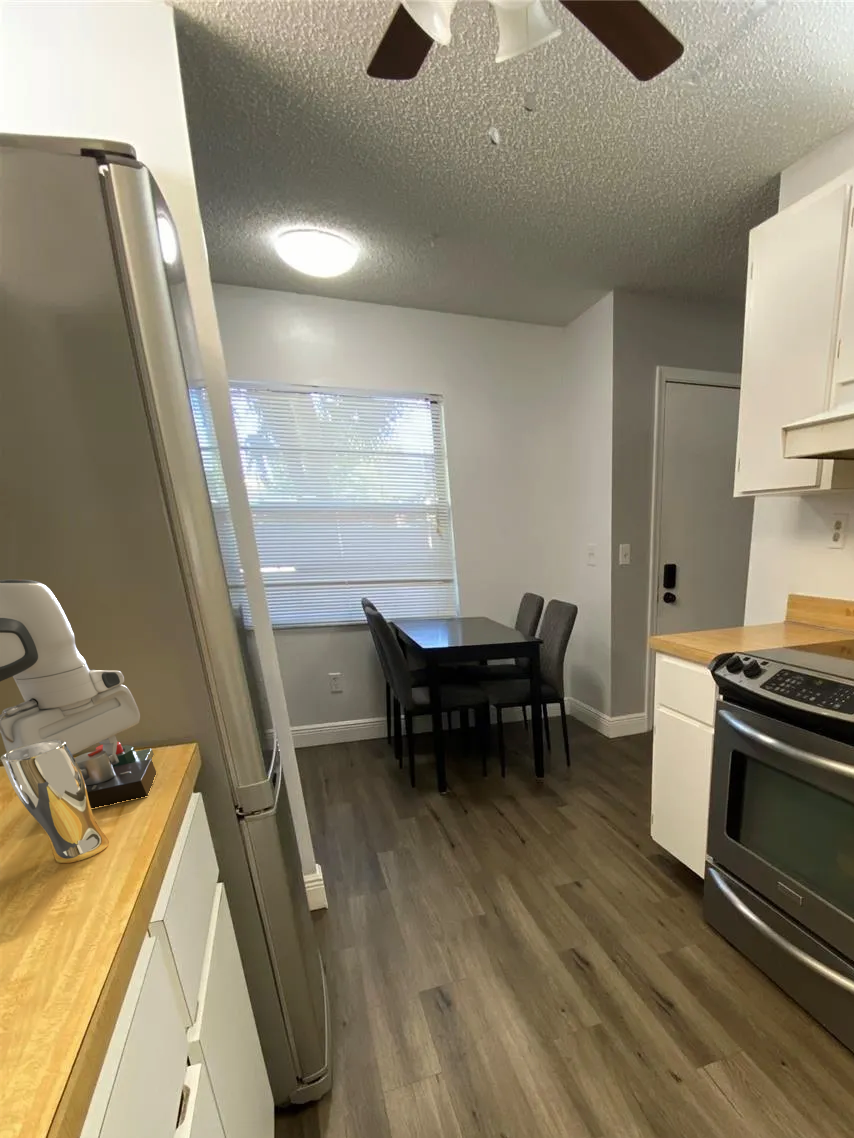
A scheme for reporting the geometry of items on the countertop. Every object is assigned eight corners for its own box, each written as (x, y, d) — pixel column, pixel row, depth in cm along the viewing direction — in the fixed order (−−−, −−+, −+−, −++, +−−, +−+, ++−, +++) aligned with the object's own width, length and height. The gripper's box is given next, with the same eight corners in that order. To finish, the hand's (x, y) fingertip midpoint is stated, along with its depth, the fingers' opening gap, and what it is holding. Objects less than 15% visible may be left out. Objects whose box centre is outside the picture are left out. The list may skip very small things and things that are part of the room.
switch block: (80, 789, 106) (70, 768, 104) (92, 772, 112) (82, 752, 111) (148, 774, 109) (139, 753, 107) (155, 759, 116) (147, 738, 114)
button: (97, 760, 107) (92, 751, 106) (102, 753, 110) (97, 744, 109) (121, 755, 108) (117, 746, 108) (125, 749, 111) (121, 739, 111)
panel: (50, 819, 96) (41, 801, 95) (68, 794, 104) (60, 777, 103) (147, 797, 100) (140, 779, 99) (157, 774, 109) (150, 757, 107)
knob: (100, 784, 99) (88, 759, 97) (76, 785, 99) (64, 760, 98) (122, 772, 103) (111, 748, 101) (99, 773, 103) (88, 748, 102)
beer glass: (113, 851, 85) (65, 748, 78) (49, 871, 81) (-6, 766, 75) (113, 832, 90) (68, 734, 84) (53, 850, 87) (2, 749, 80)
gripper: (11, 712, 85) (56, 803, 91) (130, 668, 103) (161, 746, 109) (-28, 714, 86) (19, 804, 92) (96, 670, 104) (129, 747, 110)
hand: (97, 772), depth 101 cm, fingers closed on knob, 4 cm apart
